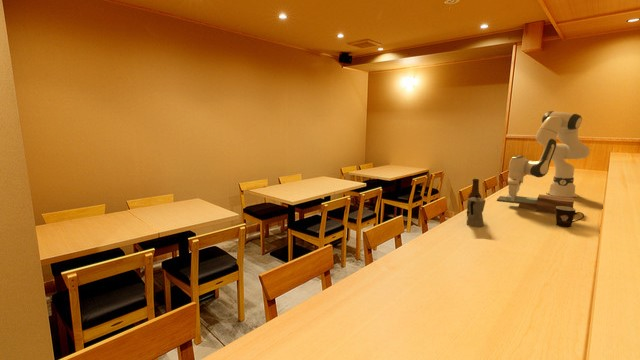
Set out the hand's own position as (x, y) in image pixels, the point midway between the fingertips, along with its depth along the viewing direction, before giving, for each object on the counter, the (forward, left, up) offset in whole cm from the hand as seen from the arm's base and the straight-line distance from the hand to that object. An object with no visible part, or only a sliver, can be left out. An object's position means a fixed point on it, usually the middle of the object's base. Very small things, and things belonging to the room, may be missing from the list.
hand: (513, 199), depth 210 cm
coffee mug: (+30, +30, -5) cm, 42 cm away
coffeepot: (+55, -11, -5) cm, 56 cm away
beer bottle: (+40, -15, -5) cm, 43 cm away
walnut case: (0, +17, -4) cm, 18 cm away
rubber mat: (-15, +2, -4) cm, 16 cm away
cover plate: (0, +6, 0) cm, 6 cm away
